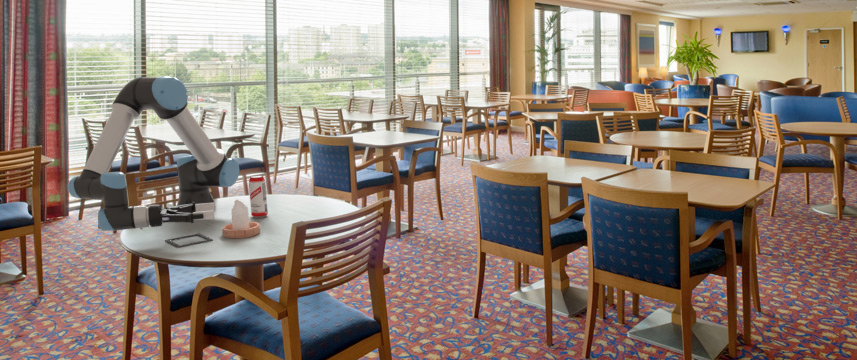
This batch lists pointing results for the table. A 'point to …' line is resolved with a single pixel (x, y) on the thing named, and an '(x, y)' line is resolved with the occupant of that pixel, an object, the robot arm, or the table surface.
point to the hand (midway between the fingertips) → (214, 210)
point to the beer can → (258, 196)
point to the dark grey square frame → (189, 243)
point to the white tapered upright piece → (240, 216)
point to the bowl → (241, 231)
